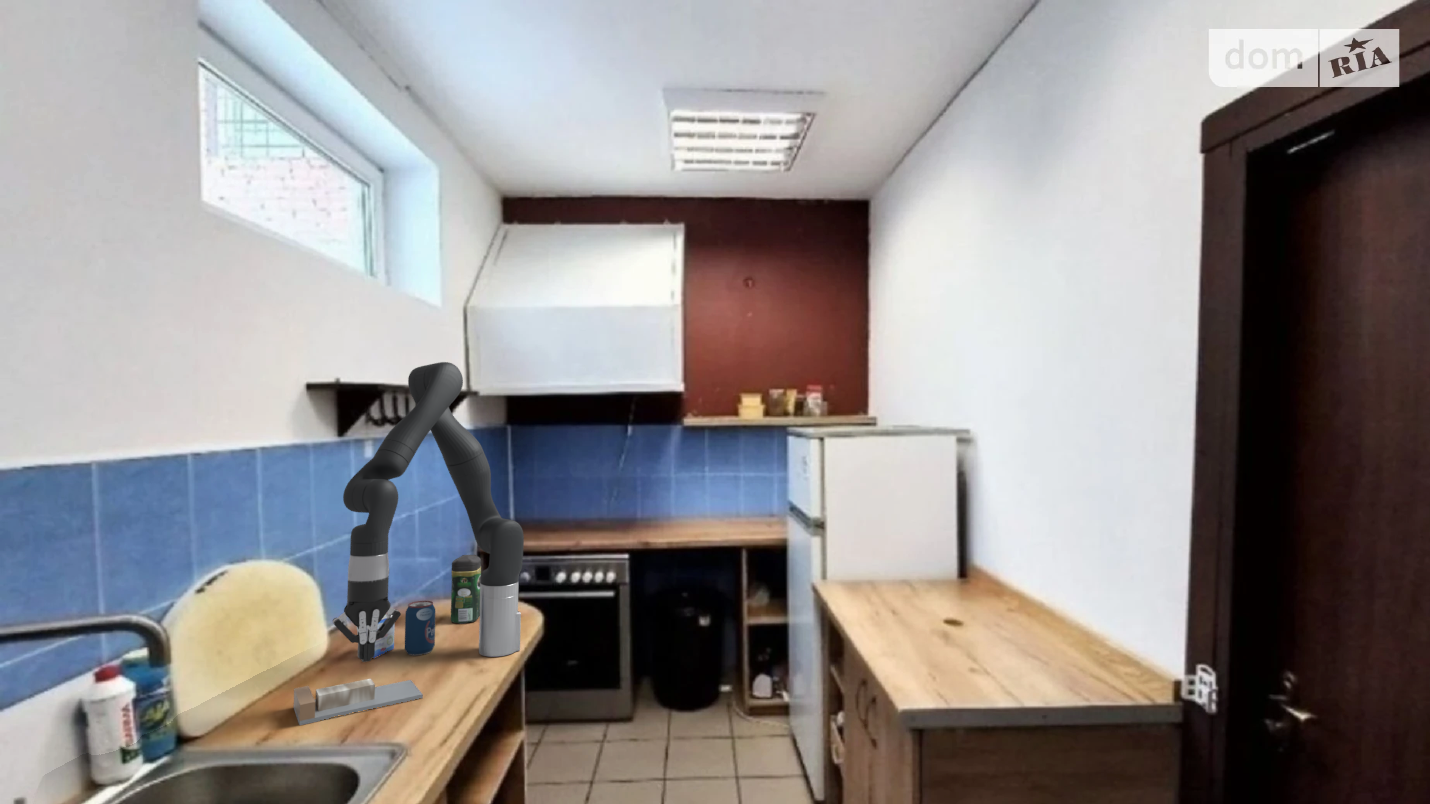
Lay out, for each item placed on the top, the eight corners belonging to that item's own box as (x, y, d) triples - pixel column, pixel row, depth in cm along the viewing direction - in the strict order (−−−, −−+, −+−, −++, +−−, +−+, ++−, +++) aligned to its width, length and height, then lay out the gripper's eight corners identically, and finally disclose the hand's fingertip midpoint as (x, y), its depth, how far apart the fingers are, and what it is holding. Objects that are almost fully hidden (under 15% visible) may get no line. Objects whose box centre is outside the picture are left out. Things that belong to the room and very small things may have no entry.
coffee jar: (454, 615, 203) (456, 553, 203) (482, 614, 204) (483, 552, 205) (447, 625, 193) (448, 559, 194) (476, 624, 194) (477, 558, 195)
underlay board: (410, 683, 149) (411, 665, 149) (422, 698, 141) (423, 679, 141) (293, 707, 136) (294, 688, 136) (299, 725, 128) (300, 704, 128)
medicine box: (372, 659, 164) (373, 623, 165) (356, 658, 165) (357, 622, 165) (394, 649, 172) (395, 614, 172) (379, 647, 173) (380, 613, 173)
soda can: (433, 654, 168) (434, 605, 168) (403, 657, 166) (404, 608, 166) (435, 646, 174) (436, 599, 175) (405, 648, 172) (407, 601, 173)
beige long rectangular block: (370, 678, 142) (315, 689, 136) (374, 684, 139) (318, 695, 132) (370, 693, 142) (315, 704, 135) (374, 699, 138) (318, 711, 132)
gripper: (398, 568, 147) (396, 649, 146) (329, 576, 139) (326, 662, 138) (407, 575, 141) (404, 659, 140) (335, 583, 133) (332, 672, 132)
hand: (365, 660), depth 139 cm, fingers closed
